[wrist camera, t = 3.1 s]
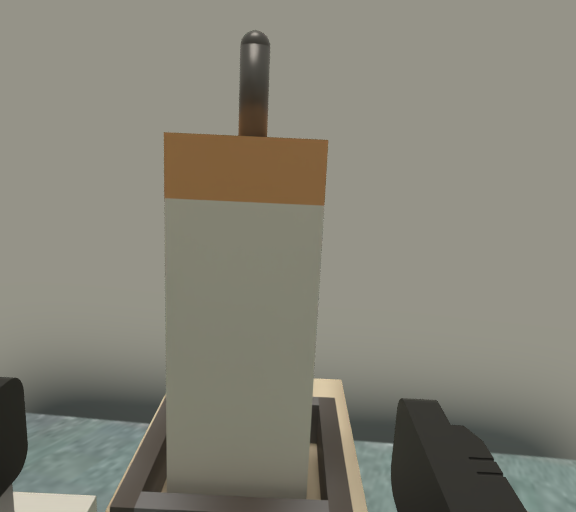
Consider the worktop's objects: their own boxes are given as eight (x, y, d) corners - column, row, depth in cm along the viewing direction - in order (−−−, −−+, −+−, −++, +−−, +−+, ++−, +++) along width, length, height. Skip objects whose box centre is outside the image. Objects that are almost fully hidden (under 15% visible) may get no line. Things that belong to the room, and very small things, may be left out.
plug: (167, 527, 18) (162, 7, 14) (193, 446, 23) (195, 41, 19) (304, 533, 18) (335, 15, 14) (302, 451, 23) (325, 47, 19)
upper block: (91, 739, 19) (79, 505, 16) (177, 487, 32) (176, 341, 30) (361, 752, 19) (384, 519, 16) (332, 494, 32) (343, 349, 30)
